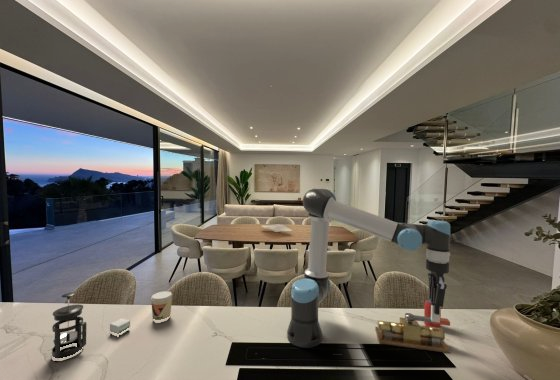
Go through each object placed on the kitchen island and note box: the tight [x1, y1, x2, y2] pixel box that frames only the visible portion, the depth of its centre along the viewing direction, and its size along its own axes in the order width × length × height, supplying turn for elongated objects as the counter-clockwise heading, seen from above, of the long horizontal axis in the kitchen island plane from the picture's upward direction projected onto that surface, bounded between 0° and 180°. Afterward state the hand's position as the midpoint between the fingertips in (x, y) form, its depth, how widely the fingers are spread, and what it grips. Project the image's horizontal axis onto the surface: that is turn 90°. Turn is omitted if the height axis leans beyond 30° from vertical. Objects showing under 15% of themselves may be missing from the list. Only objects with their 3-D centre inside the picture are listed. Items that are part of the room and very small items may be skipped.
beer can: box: [423, 297, 442, 328], centre depth 115 cm, size 7×7×12 cm
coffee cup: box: [150, 290, 173, 320], centre depth 119 cm, size 9×9×12 cm
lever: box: [404, 312, 451, 327], centre depth 102 cm, size 16×4×2 cm, turn 74°
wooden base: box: [374, 317, 450, 354], centre depth 104 cm, size 26×10×9 cm, turn 77°
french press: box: [51, 292, 87, 358], centre depth 94 cm, size 12×9×23 cm
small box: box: [109, 317, 131, 334], centre depth 108 cm, size 6×6×5 cm
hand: (435, 320), depth 95 cm, fingers closed
